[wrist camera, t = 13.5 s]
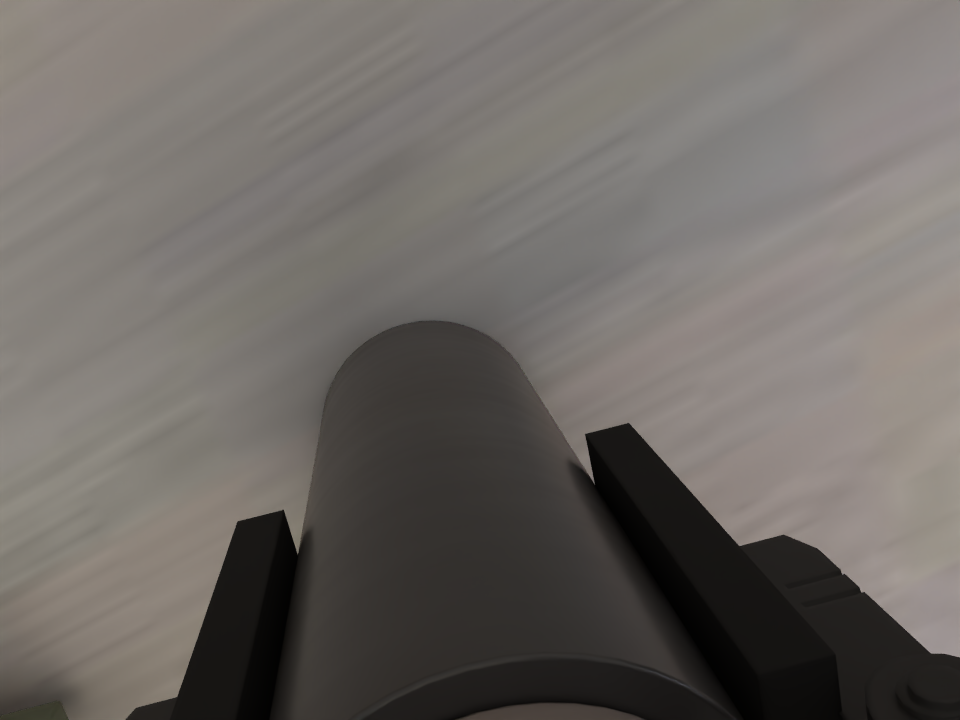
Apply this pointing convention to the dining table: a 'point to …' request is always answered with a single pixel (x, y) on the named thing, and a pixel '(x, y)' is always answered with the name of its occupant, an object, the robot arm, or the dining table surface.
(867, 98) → the dining table surface
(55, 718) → the drawer
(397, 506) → the pepper mill
